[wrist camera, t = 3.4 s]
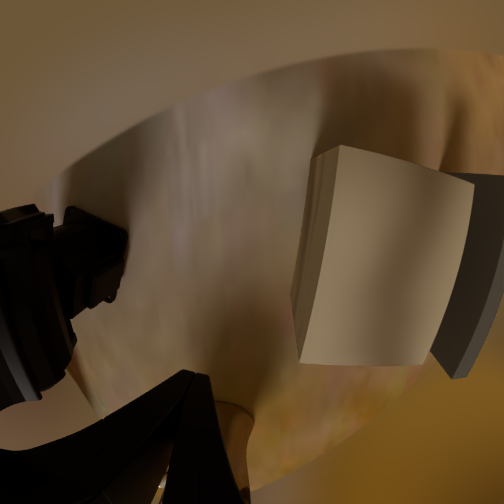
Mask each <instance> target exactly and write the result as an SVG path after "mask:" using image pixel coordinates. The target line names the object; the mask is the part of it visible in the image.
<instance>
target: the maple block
mask: <svg viewBox="0 0 504 504" xmlns="http://www.w3.org/2000/svg"><path fill="white" fill-rule="evenodd" d="M473 194H474V184H472V183H469V182H467V181H464V180H462V179H459V178H456V177H454V176H451V175H448V174H445V173H442V172H439V171H437V170H434V169H431V168H427V167H424V166H421V165H418V164H415V163H411V162H408V161H405V160H401V159H397V158H394V157H390V156H386V155H382V154H379V153H375V152H370V151H366V150H362V149H358V148H353V147H348V146H344V145H338V146H336V147H334V148H332V149H330V150H328V151H326V152H324V153H322V154H320V155H318V156H317V157H315V158H313V159H311V162H310V171H309V178H308V186H307V194H306V201H305V208H304V215H303V222H302V228H301V235H300V241H299V248H298V254H297V260H296V266H295V272H294V278H293V283H292V289H291V294H290V296H291V303H292V310H293V318H294V325H295V333H296V341H297V349H298V357H299V363H308V364H323V365H345V366H405V365H423V363H424V361H425V359H426V357H427V355H428V353H429V350H430V348H431V346H432V344H433V341H434V339H435V336H436V334H437V332H438V329H439V327H440V324H441V321H442V319H443V316H444V313H445V311H446V308H447V305H448V302H449V299H450V296H451V293H452V290H453V287H454V283H455V280H456V277H457V273H458V270H459V266H460V262H461V258H462V254H463V250H464V246H465V241H466V236H467V231H468V226H469V221H470V215H471V208H472V202H473Z"/></svg>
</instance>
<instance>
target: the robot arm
mask: <svg viewBox="0 0 504 504" xmlns="http://www.w3.org/2000/svg"><path fill="white" fill-rule="evenodd" d="M70 210H71V214H70ZM53 223H54V214H45V212H41V211H39V210H38V208H37V207H36V205H35V204H29V205H24V206H19V207H15V208H11V209H7V210H4V211H1V212H0V411H1V410H3V409H5V408H7V407H9V406H11V405H14V404H17V403H21V402H24V401H35V400H41V399H42V395H41V393H40V392H42V391H45V390H47V389H50V388H51V387H52V386H54V385H55V384H57V383H58V382H59V381H60V380H62V379H63V378H64V376H65V375H66V373H65V369H66V367H67V366H68V364H69V363H70V361H71V359H72V355H73V349H74V347H75V345H76V342H77V337H76V334H75V333H74V332H73V328H72V325H71V321H70V319H73V318H74V317H75V316H77V315H78V314H79V313H80V312H82V311H83V310H84V309H85V308H89V309H92V308H94V307H96V306H97V305H98V304H99V303H101V302H102V301H105V302H107V303H112V302H113V301H114V300H115V297H116V291H117V289H118V288H119V287H120V281H121V276H122V271H123V266H124V258H123V256H124V251H125V247H126V242H127V238H128V234H127V232H126V230H124V229H123V228H120V227H118V226H116V225H114V224H111V223H109V222H107V221H105V220H102V219H100V218H98V217H96V216H94V215H91V214H89V213H87V212H85V211H83V210H81V209H78V208H76V207H74V206H68V207H67V208H66V210H65V215H64V221H63V225H60V226H57V227H53ZM120 233H121V234H122V236H123V238H121V237H120ZM108 296H110V298H111V299H110V298H109V297H108ZM227 456H228V455H227V451H226V447H225V443H224V439H223V435H222V431H221V427H220V423H219V419H218V414H217V410H216V406H215V401H214V397H213V392H212V387H211V382H210V378H209V376H208V375H206V374H201V373H196V374H195V372H193V371H189V370H185V369H182V370H180V371H179V372H177V373H176V374H174V375H173V376H171V377H170V378H168V379H167V380H165V381H164V382H162V383H160V384H159V385H157V386H156V387H154V388H153V389H151V390H149V391H148V392H146V393H145V394H143V395H141V396H140V397H138V398H137V399H135V400H133V401H132V402H130V403H128V404H127V405H125V406H123V407H122V408H120V409H118V410H117V411H115V412H113V413H112V414H110V415H108V416H106V417H105V418H104V419H101V420H99V421H97V422H96V423H94V424H92V425H90V426H88V427H86V428H85V429H82V430H81V431H78V432H76V433H73V434H71V435H69V436H66V437H64V438H61V439H58V440H55V441H53V442H50V443H47V444H44V445H41V446H38V447H35V448H31V449H28V450H21V451H10V450H5V449H0V504H151V502H152V500H153V498H154V496H155V494H156V492H157V489H158V487H159V485H160V483H161V481H162V479H163V476H164V474H165V472H166V470H167V468H168V465H169V468H168V474H167V479H166V484H165V489H164V495H163V500H162V504H246V503H245V501H244V499H243V497H242V495H241V492H240V490H239V488H238V486H237V483H236V481H235V478H234V475H233V472H232V469H231V465H230V462H229V458H228V457H227Z"/></svg>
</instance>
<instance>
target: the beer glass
mask: <svg viewBox="0 0 504 504" xmlns="http://www.w3.org/2000/svg"><path fill="white" fill-rule="evenodd" d="M215 406H216V410H217V414H218V419H219V423H220V427H221V431H222V435H223V439H224V443H225V447H226V451H227V455H228V456H227V457H228V458H229V462H230V465H231V469H232V472H233V475H234V478H235V481H236V483H237V486H238V488H239V490H240V492H241V495H242V497H243V499H244V501H245V503H246V504H251V496H250V484H249V476H248V468H247V458H246V454H247V444H248V440H249V437H250V435H251V432H252V430H253V426H254V422H253V418H252V417H251V415H250V414H249V413H248V412H247V411H246V410H244V409H242V408H241V407H239V406H236V405H234V404H230V403H226V402H215ZM164 489H165V486H164ZM164 489H163V491H162V494H161V497H160V500H159V503H158V504H162V500H163V495H164Z"/></svg>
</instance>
